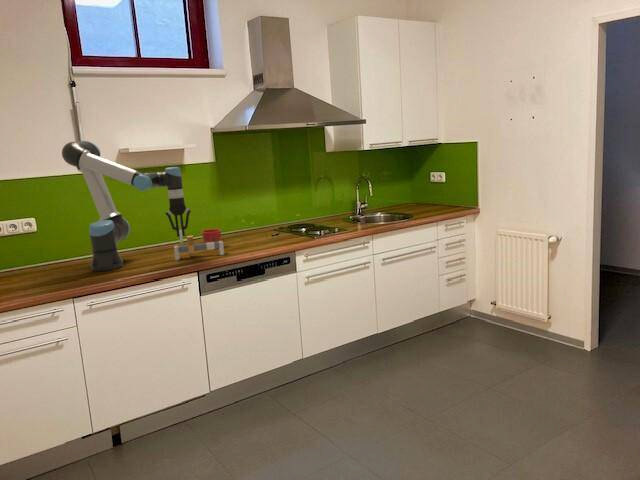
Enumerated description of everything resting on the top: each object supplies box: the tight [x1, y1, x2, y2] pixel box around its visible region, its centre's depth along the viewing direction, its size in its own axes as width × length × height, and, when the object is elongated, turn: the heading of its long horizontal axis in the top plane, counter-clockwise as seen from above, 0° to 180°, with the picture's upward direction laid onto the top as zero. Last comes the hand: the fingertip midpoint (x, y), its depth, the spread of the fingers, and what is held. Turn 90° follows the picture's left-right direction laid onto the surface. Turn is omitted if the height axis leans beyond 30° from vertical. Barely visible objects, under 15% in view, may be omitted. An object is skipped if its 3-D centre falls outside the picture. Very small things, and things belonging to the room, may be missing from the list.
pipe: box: [173, 240, 225, 261], centre depth 281 cm, size 25×6×7 cm, turn 104°
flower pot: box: [201, 228, 222, 243], centre depth 302 cm, size 11×11×10 cm
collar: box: [186, 234, 196, 257], centre depth 279 cm, size 3×7×10 cm, turn 15°
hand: (181, 242), depth 278 cm, fingers closed
